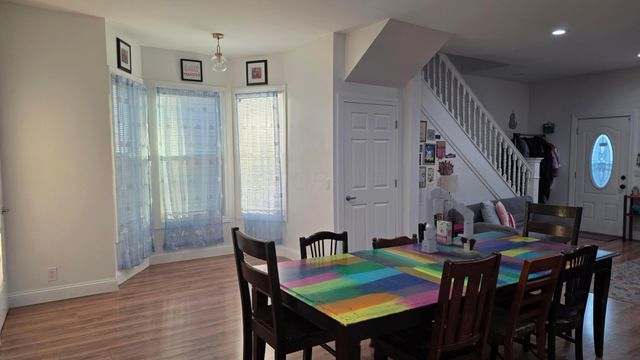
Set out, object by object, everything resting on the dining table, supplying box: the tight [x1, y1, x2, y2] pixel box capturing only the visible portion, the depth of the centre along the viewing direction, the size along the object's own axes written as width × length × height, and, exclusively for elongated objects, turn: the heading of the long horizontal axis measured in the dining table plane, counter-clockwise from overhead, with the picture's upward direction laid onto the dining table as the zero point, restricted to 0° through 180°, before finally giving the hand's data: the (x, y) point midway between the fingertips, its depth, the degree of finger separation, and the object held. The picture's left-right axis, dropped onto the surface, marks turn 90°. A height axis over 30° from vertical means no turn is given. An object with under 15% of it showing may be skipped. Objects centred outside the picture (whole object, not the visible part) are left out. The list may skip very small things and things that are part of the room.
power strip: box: [450, 248, 481, 259], centre depth 271 cm, size 12×14×2 cm
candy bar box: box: [436, 219, 453, 246], centre depth 302 cm, size 11×5×16 cm, turn 25°
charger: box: [463, 241, 474, 253], centre depth 269 cm, size 4×4×6 cm
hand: (468, 249), depth 269 cm, fingers closed on charger, 4 cm apart
